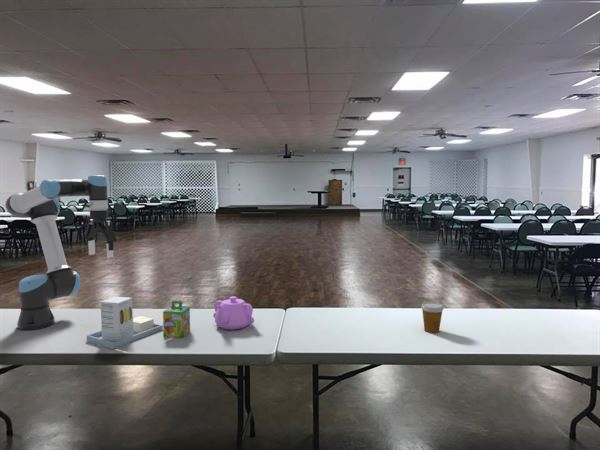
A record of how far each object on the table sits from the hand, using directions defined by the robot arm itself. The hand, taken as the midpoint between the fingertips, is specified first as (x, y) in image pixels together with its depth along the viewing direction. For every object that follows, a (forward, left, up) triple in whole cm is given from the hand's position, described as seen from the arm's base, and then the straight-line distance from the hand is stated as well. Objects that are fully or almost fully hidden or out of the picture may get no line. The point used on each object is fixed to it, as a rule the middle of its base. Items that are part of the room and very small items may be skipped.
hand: (101, 256), depth 194 cm
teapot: (+50, +30, -34) cm, 68 cm away
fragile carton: (+17, +6, -33) cm, 38 cm away
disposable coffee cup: (+132, +71, -34) cm, 154 cm away
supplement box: (+17, -6, -34) cm, 38 cm away
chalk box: (+35, +11, -34) cm, 50 cm away
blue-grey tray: (+17, -2, -34) cm, 38 cm away
